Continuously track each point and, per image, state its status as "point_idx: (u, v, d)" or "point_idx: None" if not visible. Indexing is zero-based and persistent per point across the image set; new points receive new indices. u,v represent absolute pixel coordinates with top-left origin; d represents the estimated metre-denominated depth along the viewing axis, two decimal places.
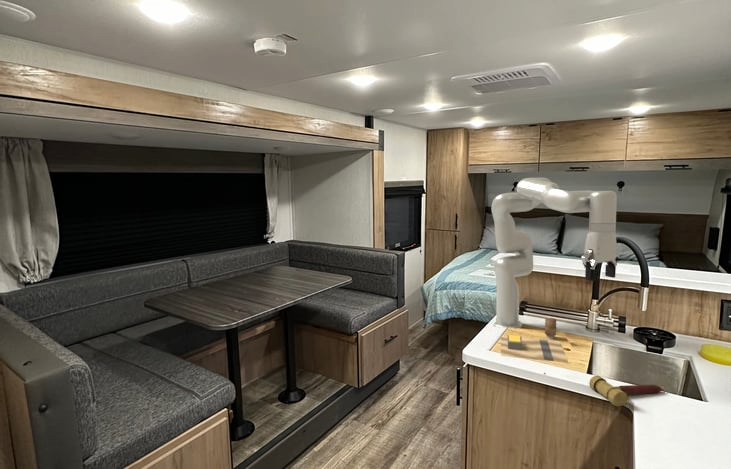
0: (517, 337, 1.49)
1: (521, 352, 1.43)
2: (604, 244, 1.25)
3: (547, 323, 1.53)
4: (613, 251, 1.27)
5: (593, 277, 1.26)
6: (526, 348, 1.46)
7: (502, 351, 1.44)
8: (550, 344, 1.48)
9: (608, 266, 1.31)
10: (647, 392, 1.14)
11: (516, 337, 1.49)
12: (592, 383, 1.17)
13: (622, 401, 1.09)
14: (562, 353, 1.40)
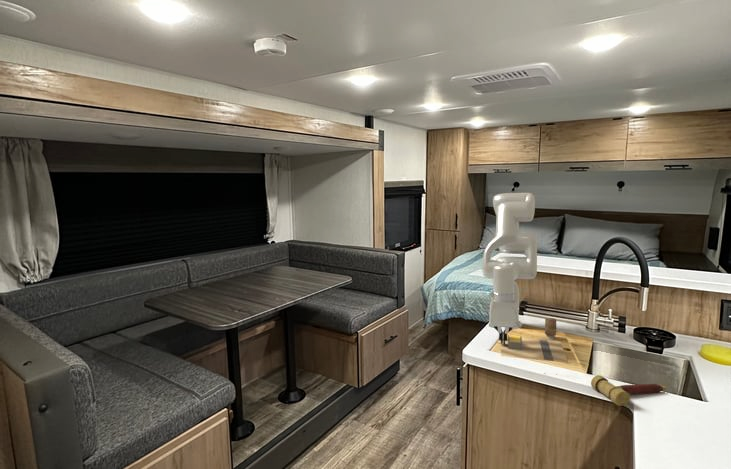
0: (517, 337, 1.49)
1: (521, 352, 1.43)
2: None
3: (547, 323, 1.53)
4: None
5: None
6: (526, 348, 1.46)
7: (502, 351, 1.44)
8: (550, 344, 1.48)
9: None
10: (648, 391, 1.14)
11: (516, 337, 1.49)
12: (594, 382, 1.17)
13: (624, 401, 1.09)
14: (562, 353, 1.40)
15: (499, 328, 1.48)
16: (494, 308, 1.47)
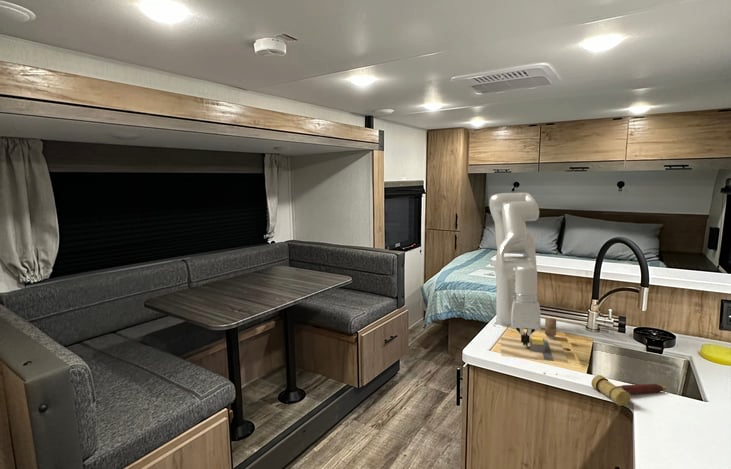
0: (540, 339, 1.46)
1: (521, 352, 1.43)
2: None
3: (547, 323, 1.53)
4: None
5: None
6: (526, 348, 1.46)
7: (502, 351, 1.44)
8: (550, 344, 1.48)
9: (525, 335, 1.46)
10: (649, 391, 1.14)
11: (539, 339, 1.46)
12: (594, 382, 1.17)
13: (625, 400, 1.09)
14: (562, 353, 1.40)
15: (521, 330, 1.45)
16: (516, 309, 1.44)
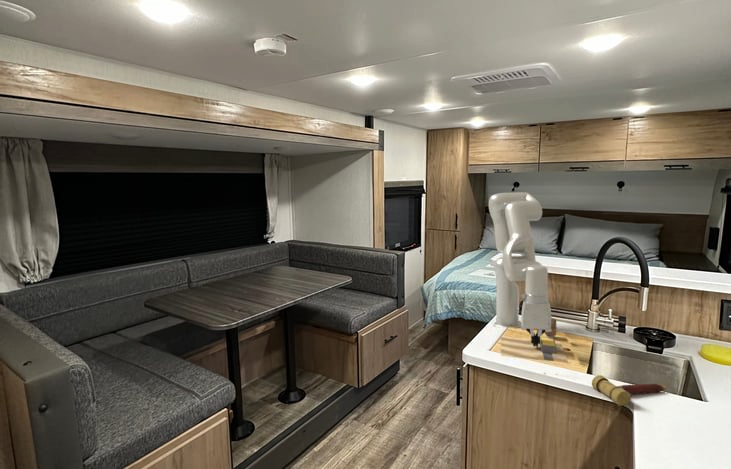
0: (550, 340, 1.45)
1: (521, 352, 1.43)
2: None
3: None
4: None
5: None
6: (526, 348, 1.46)
7: (502, 351, 1.44)
8: None
9: None
10: (649, 391, 1.14)
11: (549, 340, 1.45)
12: (595, 382, 1.17)
13: (625, 400, 1.09)
14: (562, 353, 1.40)
15: (532, 330, 1.44)
16: (527, 310, 1.43)
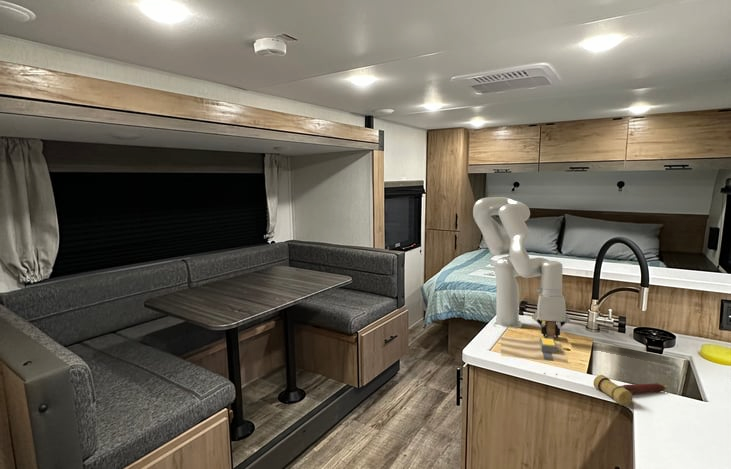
0: (551, 340, 1.45)
1: (521, 352, 1.43)
2: None
3: (547, 323, 1.53)
4: None
5: None
6: (526, 348, 1.46)
7: (502, 351, 1.44)
8: None
9: None
10: (650, 391, 1.14)
11: (549, 340, 1.45)
12: (596, 382, 1.17)
13: (627, 400, 1.09)
14: (562, 353, 1.40)
15: (543, 322, 1.54)
16: (542, 303, 1.52)
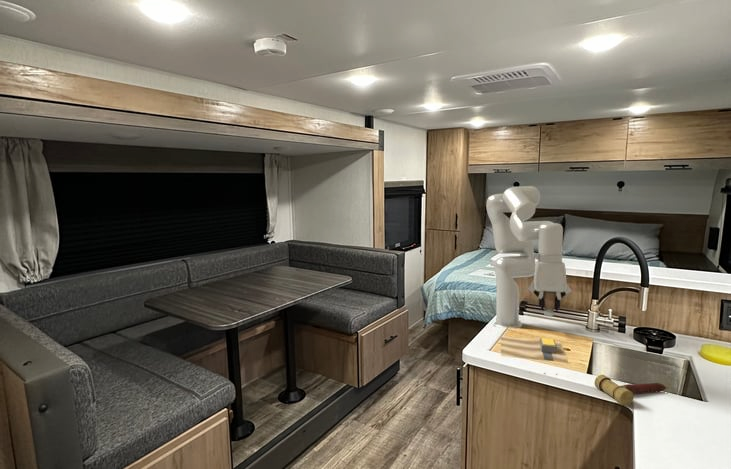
0: (551, 340, 1.45)
1: (521, 352, 1.43)
2: None
3: (545, 294, 1.35)
4: None
5: None
6: (526, 348, 1.46)
7: (502, 351, 1.44)
8: None
9: None
10: (651, 390, 1.15)
11: (549, 340, 1.45)
12: (598, 382, 1.17)
13: (628, 400, 1.09)
14: (562, 353, 1.40)
15: (541, 293, 1.35)
16: (540, 271, 1.33)
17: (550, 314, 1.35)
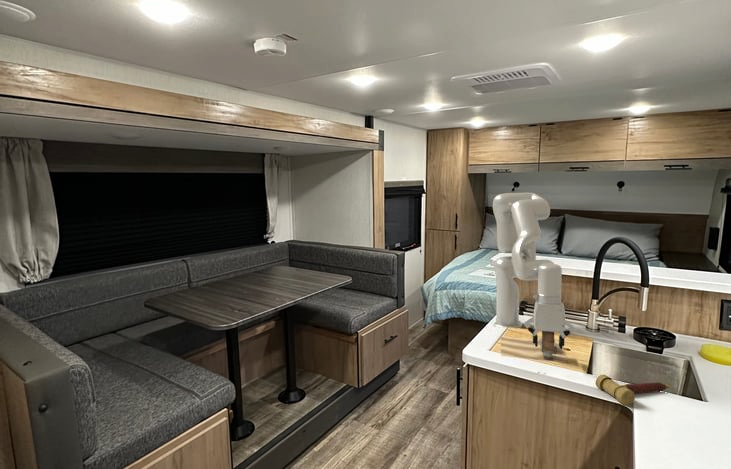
0: None
1: (521, 352, 1.43)
2: None
3: (544, 336, 1.37)
4: None
5: None
6: (526, 348, 1.46)
7: (502, 351, 1.44)
8: None
9: (537, 336, 1.38)
10: (652, 390, 1.15)
11: None
12: (599, 381, 1.17)
13: (629, 399, 1.09)
14: (562, 353, 1.40)
15: (536, 331, 1.37)
16: (539, 311, 1.35)
17: (549, 356, 1.37)
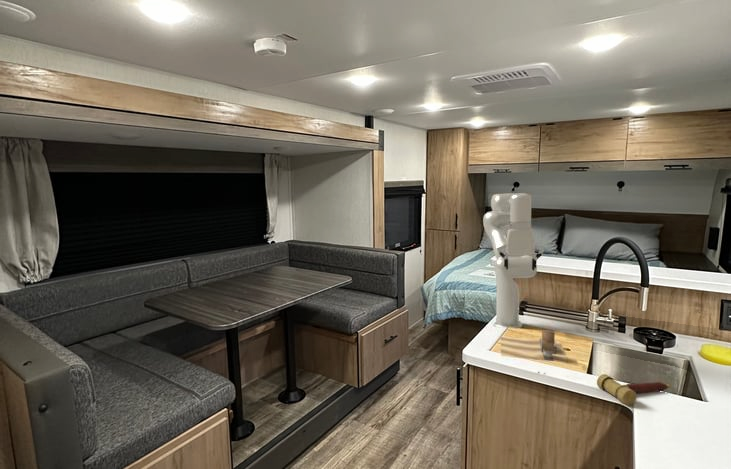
0: None
1: (521, 352, 1.43)
2: None
3: (544, 336, 1.37)
4: None
5: None
6: (526, 348, 1.46)
7: (502, 351, 1.44)
8: None
9: (507, 260, 1.52)
10: (653, 390, 1.15)
11: None
12: (600, 381, 1.17)
13: (631, 399, 1.09)
14: (562, 353, 1.40)
15: (507, 255, 1.51)
16: (511, 237, 1.48)
17: (549, 356, 1.37)
